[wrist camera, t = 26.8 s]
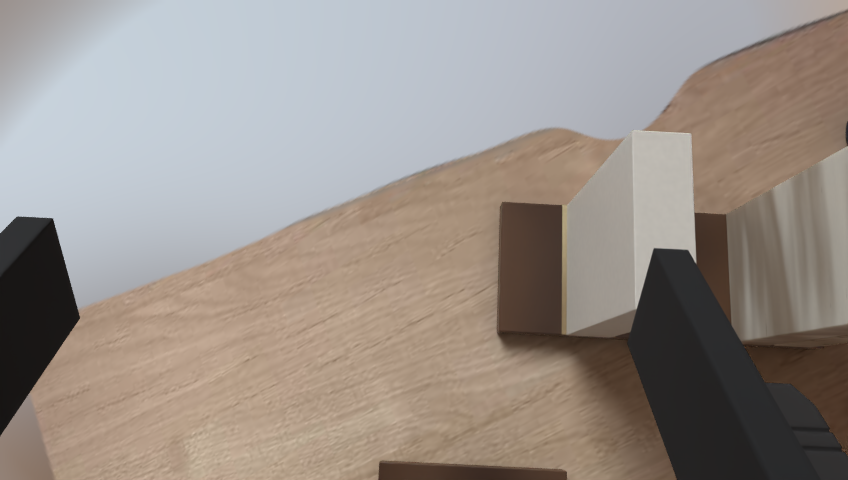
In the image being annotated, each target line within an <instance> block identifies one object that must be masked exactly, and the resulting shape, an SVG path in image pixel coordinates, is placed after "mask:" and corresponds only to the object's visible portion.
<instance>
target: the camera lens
mask: <svg viewBox="0 0 848 480" xmlns="http://www.w3.org/2000/svg"><path fill="white" fill-rule="evenodd" d="M846 140H847V144H848V122H847V126H846Z"/></svg>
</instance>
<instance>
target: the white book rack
mask: <svg viewBox="0 0 848 480" xmlns="http://www.w3.org/2000/svg"><path fill="white" fill-rule="evenodd" d="M694 215H695V241H696V264H697V266H698V268H699V270H700V271H701V273H702V275H703V276H704V278H705V280H706V282H707V283H708V285H709V287H710V289H711V290H712V292H713V294H714V296H715V297H716V299H717V301H718V302H719V304H720V306H721V308H722V309H723V311H724V313H725V315H726V316H727V318H728V320H729V321H730V323H731V325H732V327H733V328H734V330H735V332H736V334H737V335H738V337H739V339H740V341H741V342H742V344H743V346H758V347H777V348H796V349H822V348H824V346H828V345H837V344H845V343H848V146H847V147H845V148H843V149H842V150H840V151H838V152H836V153H835V154H833V155H831V156H829V157H827V158H826V159H824V160H822V161H820V162H819V163H817V164H815V165H813V166H811V167H810V168H808V169H806V170H804V171H803V172H801V173H799V174H797V175H795V176H794V177H792V178H790V179H788V180H787V181H785V182H783V183H781V184H779V185H778V186H776V187H774V188H772V189H770V190H769V191H767V192H765V193H763V194H762V195H760V196H758V197H756V198H754V199H753V200H751V201H749V202H747V203H746V204H744V205H742V206H740V207H738V208H737V209H735V210H733V211H731V212H730V213H728V214H708V213H694ZM497 333H511V334H530V335H549V336H568V337H587V338H606V339H625V340H628V339H629V335H630V332H629V333H625V334H621V335H618V336H614V337H611V338H608V337H589V336H570V335H567V205H548V204H530V203H512V202H502V204H501V206H500V225H499V264H498V303H497Z"/></svg>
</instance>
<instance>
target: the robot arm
mask: <svg viewBox="0 0 848 480" xmlns="http://www.w3.org/2000/svg"><path fill="white" fill-rule="evenodd" d="M79 319H80V316H79V312H78V309H77V305H76V302H75V298H74V294H73V290H72V287H71V283H70V280H69V276H68V272H67V269H66V265H65V261H64V257H63V254H62V250H61V246H60V243H59V239H58V236H57V232H56V228H55V225H54V221H53V219H52V218H36V217H16V218H15V219H14V220H13V221H12V222H11V223H10V224H9V225H8V226H7V227H6V228H5V229H4V230H3V231H2V232H1V233H0V435H1V434H2V432H3V431H4V429H5V428H6V427H7V425H8V424H9V422H10V421H11V419H12V418H13V416H14V415H15V413H16V412H17V410H18V409H19V407H20V406H21V404H22V403H23V402H24V400H25V399H26V397H27V396H28V394H29V393H30V391H31V390H32V388H33V387H34V385H35V384H36V382H37V381H38V379H39V378H40V376H41V375H42V373H43V372H44V370H45V369H46V368H47V366H48V365H49V363H50V362H51V360H52V359H53V357H54V356H55V354H56V353H57V351H58V350H59V348H60V347H61V345H62V344H63V342H64V341H65V339H66V338H67V336H68V335H69V334H70V332H71V331H72V329H73V328H74V326H75V325H76V323H77V322H78V320H79ZM627 344H628V347H629V349H630V352H631V355H632V358H633V360H634V363H635V366H636V368H637V371H638V374H639V377H640V379H641V382H642V385H643V388H644V390H645V393H646V396H647V399H648V401H649V404H650V407H651V409H652V412H653V415H654V418H655V420H656V423H657V426H658V429H659V431H660V434H661V437H662V440H663V442H664V445H665V448H666V450H667V453H668V456H669V459H670V461H671V464H672V467H673V470H674V472H675V475H676V478H677V480H848V456H847V455H846V453H845V452H842V450H841V448H842V447H841V445H840V444H839V442H838V441H837V439H836V438H835V436H834V434H833V433H830V432H829V429H830V428H829V427H828V425H827V423H826V422H825V420H824V419H823V417H822V416H821V414H820V412H819V411H818V409H817V408H816V406H815V405H814V404H813V403H812V402H811V401H810V400H808V399H807V398H806V397H805V396H804V395H803V394H802V393H800V392H799V391H798V390H797V389H796V388H795V387H794V386H792V385H791V384H781V383H765V382H764V380H763V379H762V377H761V375H760V373H759V372H758V370H757V368H756V366H755V365H754V363H753V361H752V360H751V358H750V356H749V354H748V353H747V351H746V349H745V347H744V346H743V344H742V342H741V341H740V339H739V337H738V335H737V334H736V332H735V330H734V328H733V327H732V325H731V323H730V321H729V320H728V318H727V316H726V315H725V313H724V311H723V309H722V308H721V306H720V304H719V302H718V301H717V299H716V297H715V296H714V294H713V292H712V290H711V289H710V287H709V285H708V283H707V282H706V280H705V278H704V276H703V275H702V273H701V271H700V270H699V268H698V266H697V264H696V263H695V261H694V259H693V257H692V256H691V254H690V252H689V251H688V250H683V249H663V248H654V249H653V252H652V256H651V260H650V263H649V267H648V270H647V274H646V278H645V281H644V285H643V288H642V292H641V296H640V299H639V303H638V306H637V310H636V314H635V317H634V321H633V324H632V328H631V331H630V335H629V339H628V342H627Z"/></svg>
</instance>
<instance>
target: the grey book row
mask: <svg viewBox="0 0 848 480" xmlns="http://www.w3.org/2000/svg"><path fill="white" fill-rule="evenodd" d="M378 480H567V472H566V471H564V470H562V469H542V468H521V467H501V466H480V465H460V464H439V463H419V462H399V461H380V463H379V479H378Z"/></svg>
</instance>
